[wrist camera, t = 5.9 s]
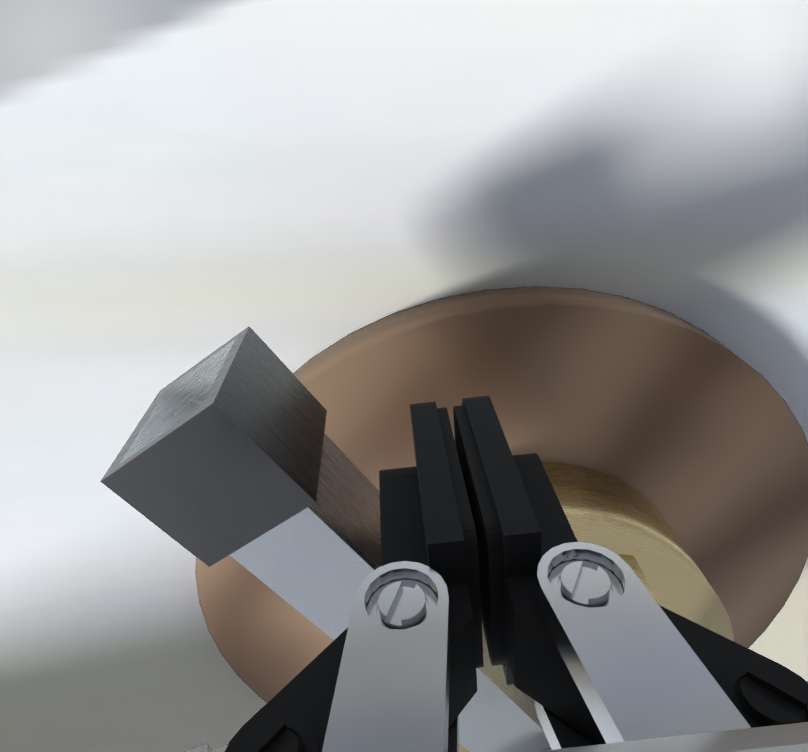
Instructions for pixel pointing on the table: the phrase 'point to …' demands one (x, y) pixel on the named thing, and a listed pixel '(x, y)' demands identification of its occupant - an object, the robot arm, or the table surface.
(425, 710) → the robot arm
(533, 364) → the lever base
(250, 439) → the grey lever
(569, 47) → the table surface
